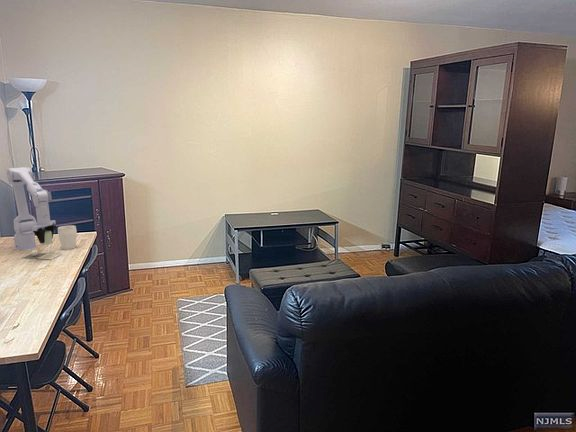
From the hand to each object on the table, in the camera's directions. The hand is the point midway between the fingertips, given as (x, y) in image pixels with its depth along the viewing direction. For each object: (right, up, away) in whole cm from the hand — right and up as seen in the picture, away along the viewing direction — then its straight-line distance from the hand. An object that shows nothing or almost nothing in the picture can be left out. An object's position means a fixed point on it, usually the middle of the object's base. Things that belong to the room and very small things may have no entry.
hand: (46, 241), depth 214 cm
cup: (+3, -5, +17) cm, 18 cm away
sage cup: (0, -1, 0) cm, 1 cm away
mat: (-3, -8, +2) cm, 9 cm away
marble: (-7, -6, +2) cm, 10 cm away
